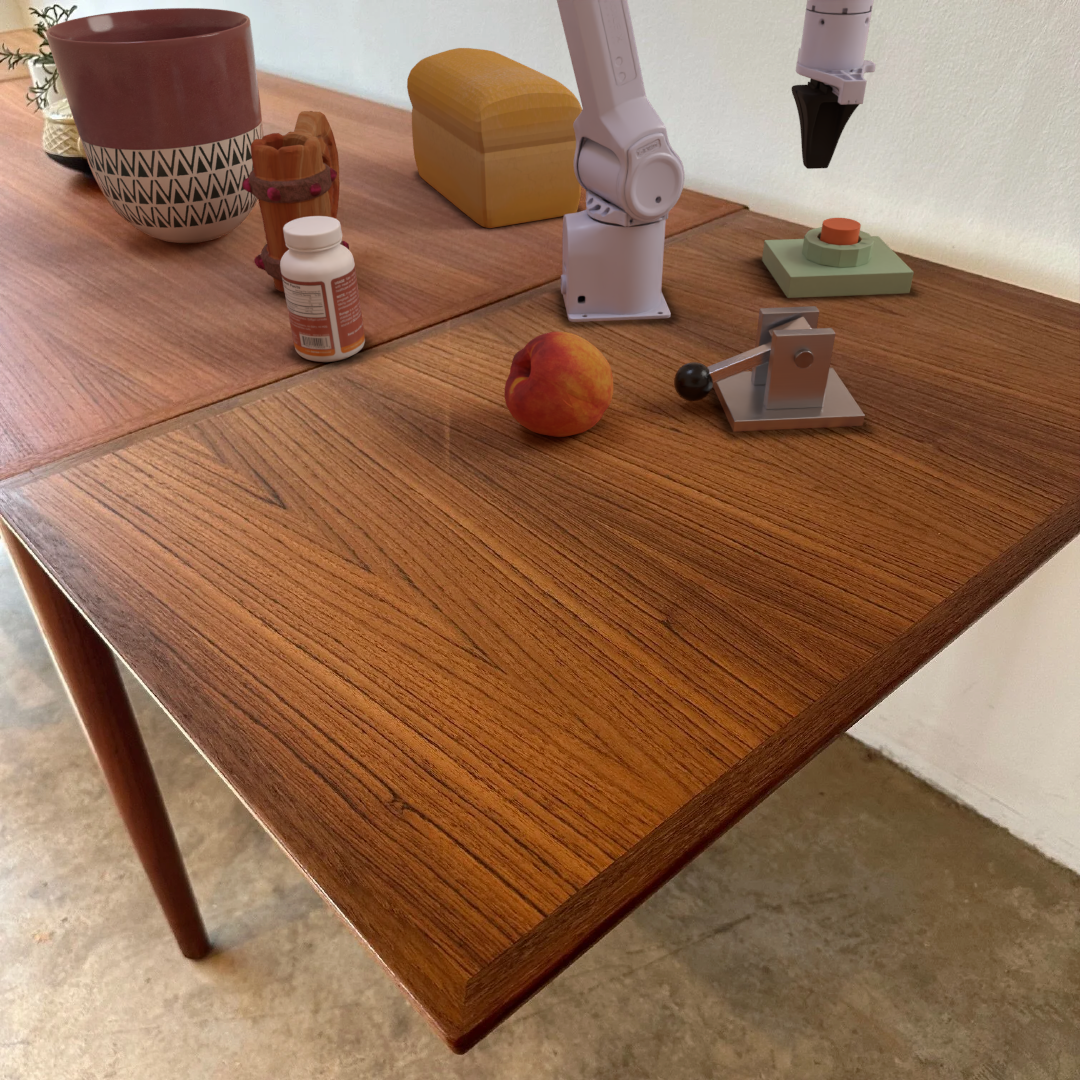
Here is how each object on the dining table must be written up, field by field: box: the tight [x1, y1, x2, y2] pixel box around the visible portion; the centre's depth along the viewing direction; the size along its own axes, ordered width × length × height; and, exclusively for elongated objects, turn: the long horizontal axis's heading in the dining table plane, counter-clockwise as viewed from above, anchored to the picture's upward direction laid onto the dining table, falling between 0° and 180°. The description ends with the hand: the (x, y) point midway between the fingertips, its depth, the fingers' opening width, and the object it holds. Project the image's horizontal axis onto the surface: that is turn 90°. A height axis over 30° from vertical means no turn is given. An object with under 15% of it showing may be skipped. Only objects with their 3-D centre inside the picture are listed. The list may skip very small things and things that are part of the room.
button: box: [820, 217, 862, 245], centre depth 98 cm, size 4×4×2 cm
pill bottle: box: [280, 216, 366, 363], centre depth 86 cm, size 6×6×11 cm
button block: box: [761, 226, 915, 299], centre depth 100 cm, size 12×10×4 cm
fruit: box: [503, 331, 615, 438], centre depth 75 cm, size 8×8×8 cm
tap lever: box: [673, 317, 812, 402], centre depth 77 cm, size 11×3×3 cm, turn 94°
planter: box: [45, 7, 265, 244], centre depth 107 cm, size 20×20×21 cm
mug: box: [242, 110, 350, 294], centre depth 98 cm, size 15×8×15 cm, turn 168°
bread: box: [406, 47, 583, 229], centre depth 120 cm, size 24×13×15 cm, turn 24°
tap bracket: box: [712, 305, 866, 433], centre depth 77 cm, size 10×8×7 cm
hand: (815, 166), depth 97 cm, fingers closed
